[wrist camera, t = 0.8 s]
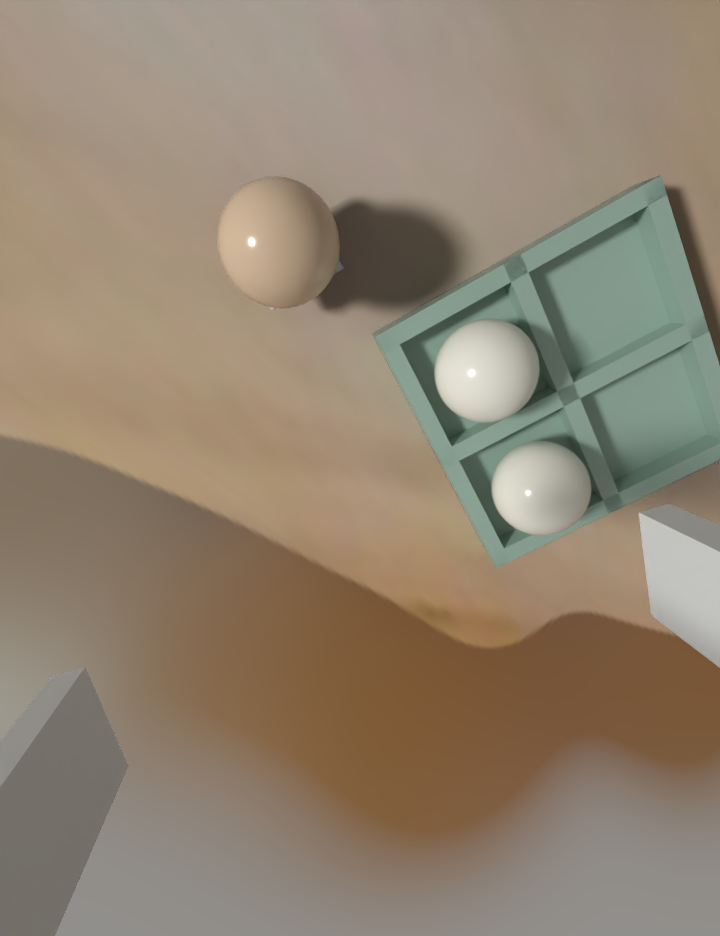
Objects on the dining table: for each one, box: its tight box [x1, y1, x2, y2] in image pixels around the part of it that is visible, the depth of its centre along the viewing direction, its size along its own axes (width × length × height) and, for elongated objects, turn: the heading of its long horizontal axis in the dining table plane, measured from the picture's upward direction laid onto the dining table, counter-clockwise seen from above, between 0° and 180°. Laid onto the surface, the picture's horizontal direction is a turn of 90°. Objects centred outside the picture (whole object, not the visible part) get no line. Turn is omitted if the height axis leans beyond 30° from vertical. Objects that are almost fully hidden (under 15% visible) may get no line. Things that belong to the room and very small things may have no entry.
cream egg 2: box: [491, 441, 591, 535], centre depth 29 cm, size 5×5×5 cm
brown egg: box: [218, 176, 340, 308], centre depth 23 cm, size 5×5×5 cm
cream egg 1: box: [434, 319, 540, 423], centre depth 27 cm, size 5×5×5 cm
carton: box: [373, 175, 720, 568], centre depth 30 cm, size 16×16×2 cm
